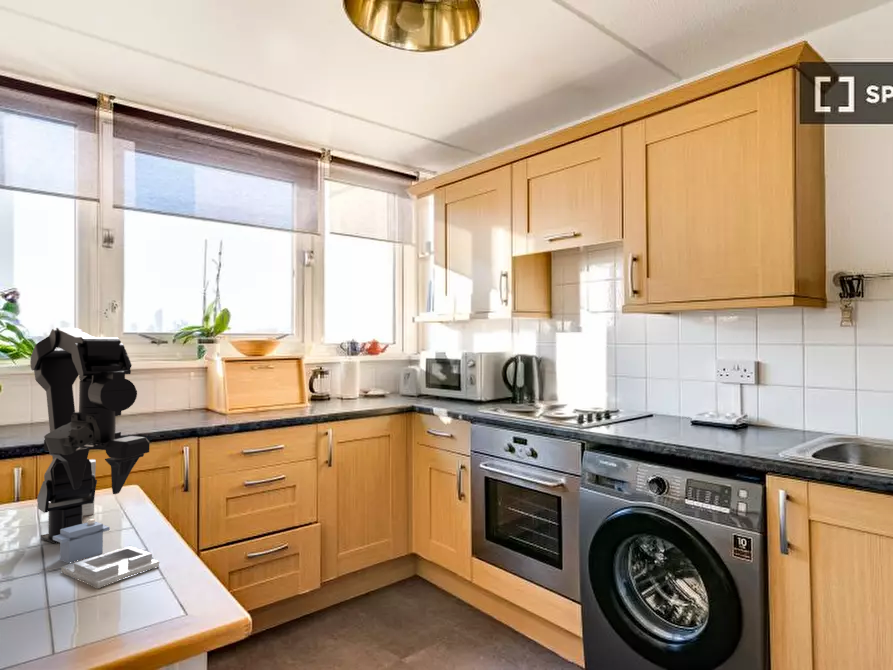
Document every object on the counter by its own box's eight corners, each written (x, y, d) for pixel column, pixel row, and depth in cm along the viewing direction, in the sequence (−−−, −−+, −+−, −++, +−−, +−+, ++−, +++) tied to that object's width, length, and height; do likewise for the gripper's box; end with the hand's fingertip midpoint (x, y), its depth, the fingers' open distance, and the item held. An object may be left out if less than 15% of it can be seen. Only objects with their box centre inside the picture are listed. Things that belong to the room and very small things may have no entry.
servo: (61, 566, 96) (62, 530, 97) (52, 562, 98) (52, 526, 98) (109, 551, 103) (109, 517, 103) (99, 548, 105) (100, 514, 105)
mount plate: (61, 572, 93) (61, 559, 94) (121, 553, 102) (121, 541, 102) (97, 588, 87) (97, 574, 87) (158, 567, 96) (158, 554, 96)
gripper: (14, 408, 95) (12, 498, 95) (98, 414, 90) (96, 510, 90) (73, 401, 106) (72, 482, 106) (152, 406, 101) (151, 491, 101)
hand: (96, 491), depth 100 cm, fingers open, 9 cm apart
